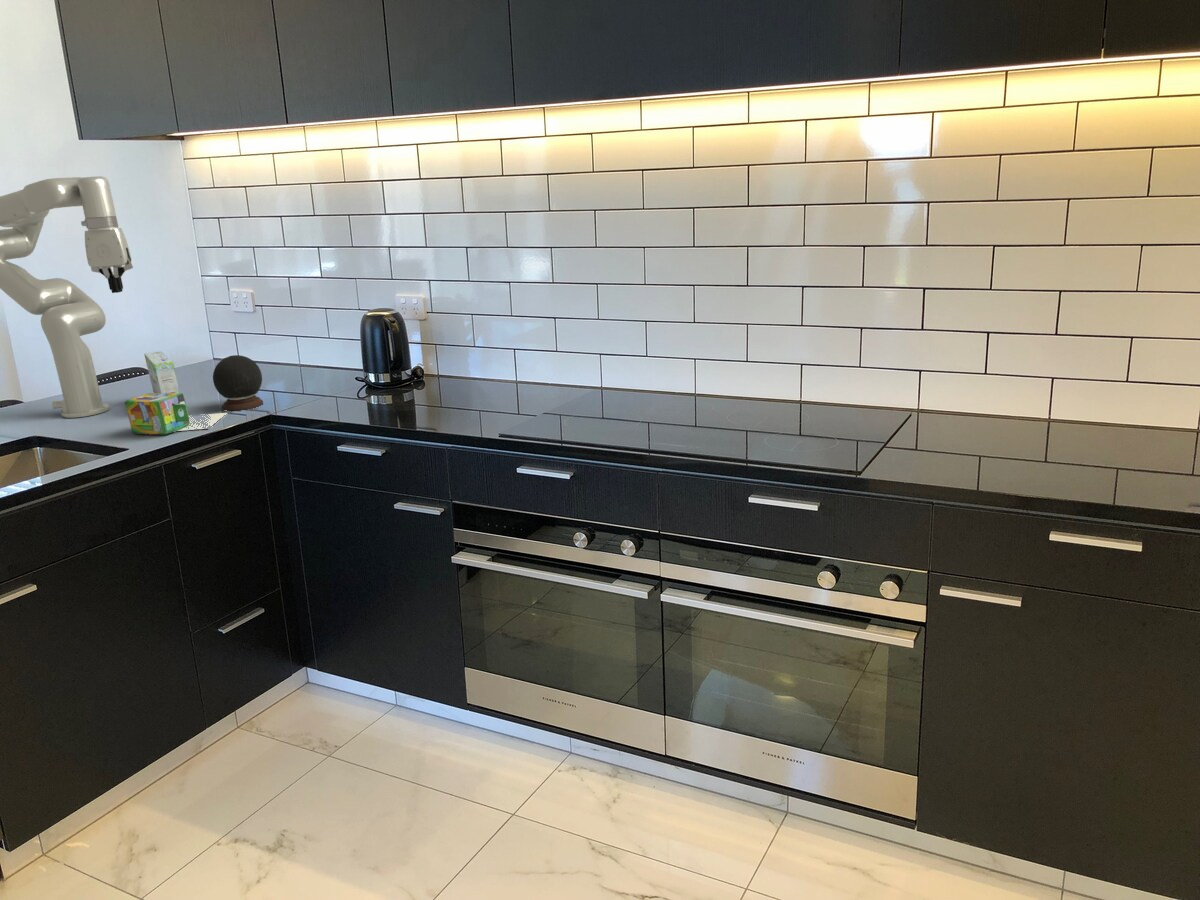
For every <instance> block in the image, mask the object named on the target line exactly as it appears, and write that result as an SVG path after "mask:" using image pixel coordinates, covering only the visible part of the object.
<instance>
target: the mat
mask: <svg viewBox="0 0 1200 900" xmlns="http://www.w3.org/2000/svg"><path fill="white" fill-rule="evenodd" d="M207 414H208V415H209V416H210V417H211V418H210V417H209V416H208V415H207ZM226 414H227V415H228V412H219V413H217V412H216V413H206V415H207V416H208V417H209V418H210V419H211V420H210V419H208V418H206V417H205V416H204V417H205V418H206V419H208V420H209V421H208V420H207V421H208V422H207V421H205V422H207V423H208V426H209V425H210V426H212V425H213V424H214V423H216V422H217V421H218V420H219V419H220V418H222V417H223V416H224V415H226ZM227 415H226V416H227ZM190 416H191V415H189V417H190ZM202 417H203V416H202ZM224 417H225V416H224ZM224 417H223V418H224ZM190 418H191V417H190ZM192 418H193V417H192ZM192 418H191V419H192ZM223 418H222V419H223ZM191 419H189V421H190V420H191ZM193 419H194V418H193ZM193 419H192V420H193ZM206 419H205V420H206ZM192 420H191V421H192ZM194 420H195V419H194ZM194 420H193V421H194ZM200 420H201V419H200ZM191 421H190V423H192V422H193V421H192V422H191ZM201 421H202V420H201ZM201 421H200V422H201ZM203 421H204V420H203ZM195 422H196V420H195ZM197 422H198V421H197ZM197 422H196V423H197ZM200 422H198V423H200ZM205 422H204V423H205ZM209 422H210V423H209ZM218 422H219V421H218ZM218 422H217V423H218ZM196 423H195V424H194V425H193V423H192V424H191V426H192V425H193V427H191V426H189V425H190V424H189V425H188V426H187V428H186V427H184V428H181V429H178V430H176V431H183V430H194V429H196V428H197V429H204V428H202V427H203V424H202V426H201V423H200V425H199V426H198V424H197V425H196ZM207 423H206V424H207ZM217 423H216V424H217ZM197 426H198V427H197ZM200 426H201V427H200ZM208 426H206V428H207V427H208ZM188 427H189V429H188ZM194 427H195V428H194ZM204 427H205V425H204ZM212 427H213V426H212Z"/></svg>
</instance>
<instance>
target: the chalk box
mask: <svg viewBox="0 0 1200 900" xmlns="http://www.w3.org/2000/svg"><path fill="white" fill-rule="evenodd" d="M124 405H125V409H126V412H127V413H126V414H127V417H128V420H129V425H130V428H131V432H132V434H140V435H142V434H143V435H147V434H149V435H168V434H171V433H172V432H174V431H176V430H178V429H181V428H184V427H186V426H188V425H189V424H190V421H189V416H190V415H189V413H188V408H187V404H186V400H185V395H184V393H182V392H180V393H154V392H153V393H152V392H151V393H146V394H142V395H140V396H136V397H133V398H131V399H127V400H125V401H124ZM174 433H175V432H174Z"/></svg>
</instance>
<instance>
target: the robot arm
mask: <svg viewBox="0 0 1200 900" xmlns="http://www.w3.org/2000/svg"><path fill="white" fill-rule="evenodd" d="M70 207H71V208H72V207H82V211H83V214H84V220H82V221H81V222H80V224H81V226H82V227H86V229H87V230H84V246H85V247H84V248H85V253H86V259H87V260H86V261H87V265H88V266H89V267H90V270H91V272H94V273H99V274H101V275H103V276H104V278H105V279H107V282H108V287H109V290H110V291H111V293H112V294H115V293H116V294H117V293H121V292H123V289H124V284H123V280H122V277H123V275H124V274H125V272H127V271H130V270H132V269H133V268H134V266H133V264H132V257H131V251H130V247H129V245H128V242H127V238H126V237H125V233H124V230H122V228H121V227H119V223H118V218H117V215H116V214H117V213H116V208H115V205H114V199H113V196H112V192H111V185H110V182H109V180H108V179H107V178H106V177H105V176H99V175H98V176H87V177H83V176H82V177H80V176H79V177H74V176H73V177H57V178H56V177H55V178H45V179H42V180H39V181H36V182H33V183H29V184H27V185H25V186H24V187H23V189H20V190H18V191H13V192H11V193H8V194H5V195H1V196H0V227H2V228H5V229H0V290H1V291H2V292H3V293H5V294H6V295H7V296H8V297H9V298H10V299H12V300H13V301H14V302H15V303H17V304H18V305H19V306H20V308H23V309H24V310H25V311H26V312H28V313H29V314H31V315H35V316H40V326H41V328H42V331H43V334H44V336H45V338H46V340H47V341H48V344H49V346H50V347H49V348H50V349H51V354H52V356H53V361H54V364H55V368H56V373H57V377H58V380H59V385H60V388H61V393H62V397H63V399H62V400H54V401H52V403H51V406H52V409H54V410H55V409H61V410H62V411H61V412H60V414H61V417H63V418H68V419H70V418H73V419H74V418H75V419H76V418H84V417H88V416H89V417H90V416H93V415H99V414H102V413H104V412H107V411H108V410H110V405H109V404H108V403H104V402H103V400H102V396H101V395H102V394H101V391H100V387H99V383H98V378H97V375H96V370H95V365H94V361H93V357H92V354H91V350H90V348H89V346H88V345H87V344H86V343H85V342H84V341H83V339H82V338H81V337H82V336H86V335H90V334H93V333H94V334H95V333H97V332H99V331H101V330H102V329H104V327H105V325H106V323H107V322H106V321H107V320H106V314H105V312H104V311H103V308H102V307H101V306H100V304H98V303H97V302H96V301H95V300H94V299H92V297H90V296H89V295H88V294H87V293H86V292H84V291H83V290H82V289H81V288H79V287H78V286H77V285H76V284H74V283H73V282H71V281H69V280H67V279H64V278H61V277H55V278H47V279H39V278H36V277H35V276H33V275H32V274H31V273H29V272H28V271H27V270H26V269H24V268H23V267H22V266H20V265H17V264H16V263H12V262H10V261H9V260H14V259H22V258H26V257H28V256H31V254H32V253H33V252H34V250H35V249H36V246H37V243H38V240H39V237H40V235H41V232H42V228H43V226H44V221H45V218H46V217H47V216H48V214H49V213H50V210H52V209H60V208H70ZM7 260H8V261H7Z"/></svg>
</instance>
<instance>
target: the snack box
mask: <svg viewBox="0 0 1200 900" xmlns="http://www.w3.org/2000/svg"><path fill="white" fill-rule="evenodd" d="M144 358H145V363H146V367H147V370H148V375H149V378H150V379H149V380H150V385H151V387H152V391H153V393H181V392H180V388H179V385H178V384H179V383H178V379H177V376H176V374H177V373H176V371H175V366H174V362H173V360H172V359H170V357H168V355H167V354H165V353H164V352H163V351H162V350H159V351H158V350H157V351H151V352H148V353H147V352H145V353H144Z"/></svg>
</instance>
